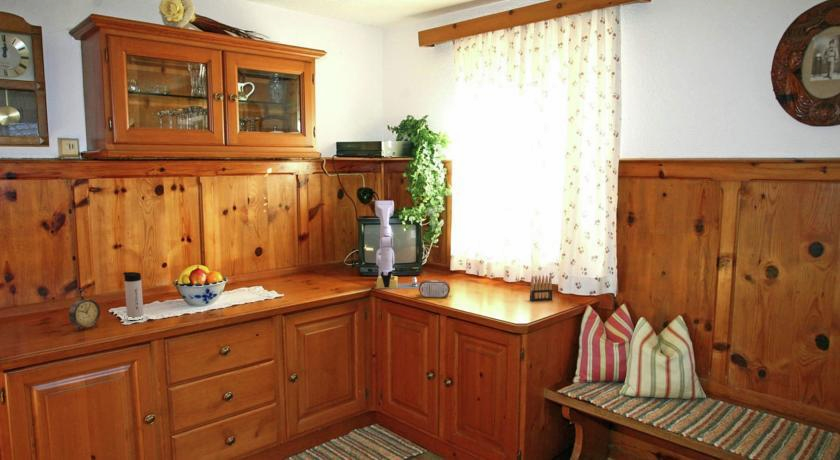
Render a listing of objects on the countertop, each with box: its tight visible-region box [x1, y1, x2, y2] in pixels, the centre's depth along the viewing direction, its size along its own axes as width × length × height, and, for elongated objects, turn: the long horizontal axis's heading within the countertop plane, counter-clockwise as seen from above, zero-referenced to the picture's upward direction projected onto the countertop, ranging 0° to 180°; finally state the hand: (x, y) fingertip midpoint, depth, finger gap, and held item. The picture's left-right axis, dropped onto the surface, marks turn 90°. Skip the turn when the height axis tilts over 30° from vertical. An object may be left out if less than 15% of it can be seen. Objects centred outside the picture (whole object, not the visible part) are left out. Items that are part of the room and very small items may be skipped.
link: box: [376, 275, 399, 288], centre depth 303 cm, size 10×10×4 cm
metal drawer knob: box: [411, 276, 418, 287], centre depth 303 cm, size 4×4×4 cm
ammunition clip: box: [529, 274, 553, 302], centre depth 275 cm, size 11×2×12 cm, turn 101°
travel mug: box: [122, 271, 144, 318], centre depth 245 cm, size 6×7×20 cm
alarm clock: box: [68, 288, 101, 332], centre depth 232 cm, size 11×5×16 cm, turn 155°
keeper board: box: [374, 282, 421, 290], centre depth 303 cm, size 13×26×1 cm, turn 89°
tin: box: [418, 279, 451, 299], centre depth 282 cm, size 15×3×8 cm, turn 84°
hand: (386, 286), depth 299 cm, fingers open, 3 cm apart
